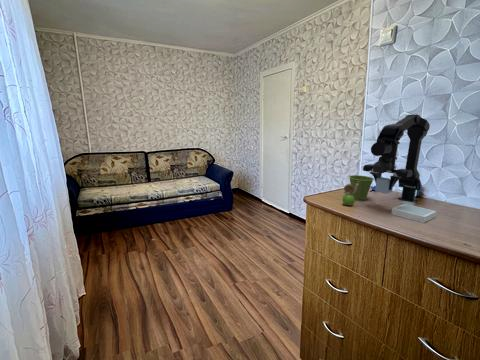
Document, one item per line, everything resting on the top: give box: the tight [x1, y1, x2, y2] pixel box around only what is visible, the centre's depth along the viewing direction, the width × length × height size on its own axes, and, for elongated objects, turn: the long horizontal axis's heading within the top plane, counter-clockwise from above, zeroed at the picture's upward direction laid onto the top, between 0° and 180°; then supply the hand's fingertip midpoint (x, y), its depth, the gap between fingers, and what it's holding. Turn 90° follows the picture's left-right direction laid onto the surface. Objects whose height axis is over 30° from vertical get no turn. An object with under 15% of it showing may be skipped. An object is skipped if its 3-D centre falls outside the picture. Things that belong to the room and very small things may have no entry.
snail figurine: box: [342, 181, 359, 206], centre depth 116 cm, size 5×6×12 cm
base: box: [391, 203, 437, 224], centre depth 104 cm, size 12×12×3 cm
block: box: [374, 176, 393, 195], centre depth 110 cm, size 5×5×6 cm
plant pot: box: [348, 174, 375, 201], centre depth 127 cm, size 12×12×11 cm
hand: (383, 189), depth 111 cm, fingers closed on block, 5 cm apart
